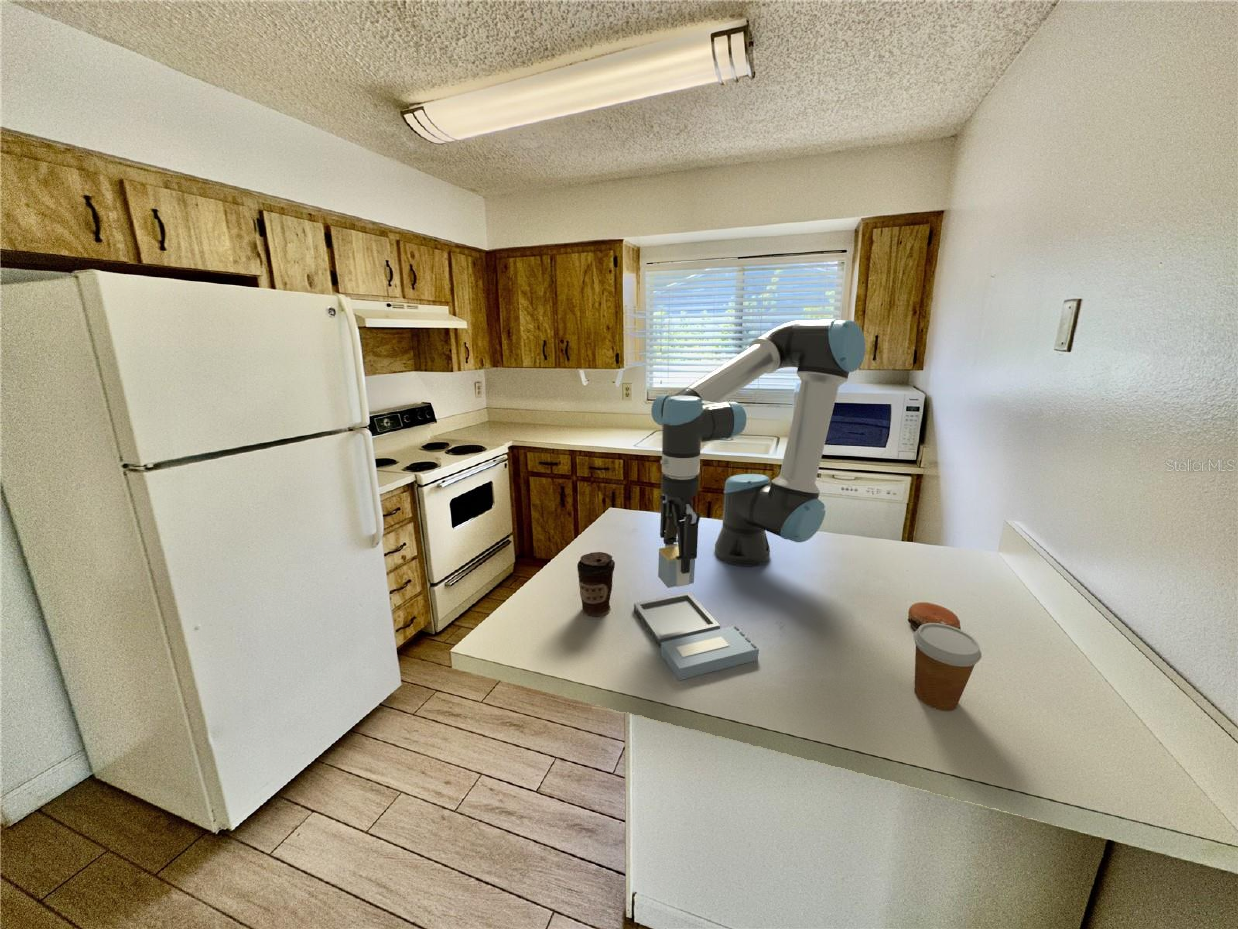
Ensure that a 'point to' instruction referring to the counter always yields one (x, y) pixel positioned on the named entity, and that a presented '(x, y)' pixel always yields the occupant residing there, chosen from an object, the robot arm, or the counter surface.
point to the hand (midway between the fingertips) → (676, 578)
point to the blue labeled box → (708, 652)
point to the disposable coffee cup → (943, 664)
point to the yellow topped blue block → (671, 566)
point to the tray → (674, 617)
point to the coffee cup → (595, 582)
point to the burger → (931, 615)
